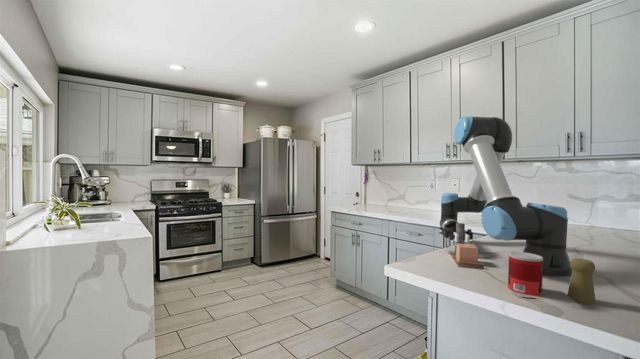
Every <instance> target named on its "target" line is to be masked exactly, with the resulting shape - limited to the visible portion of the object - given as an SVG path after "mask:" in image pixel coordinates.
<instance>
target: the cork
mask: <svg viewBox="0 0 640 359" xmlns="http://www.w3.org/2000/svg"><path fill="white" fill-rule="evenodd" d="M570 267H571V269H572V274H571V275H570V281H569V283H568V284H569V285H568V290H567V294H566V296H567V297H569V298H570V299H571V300H573V301H574V302H576V303H578V304H582V305H588V306H589V305H591V306H593V305H596V304H597V301H596V294H595V285H594V277H593V274H594V273H595V271H596V265H595V263H594V262H593V261H591V260H589V259H586V258H585V259H584V258H573V259H570Z"/></svg>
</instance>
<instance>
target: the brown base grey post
mask: <svg viewBox="0 0 640 359" xmlns="http://www.w3.org/2000/svg"><path fill="white" fill-rule="evenodd" d="M465 228H466V226H465V223H463V222H462V223H461V222H458V223H456V233H457V234H458V235H459V239H458V242H456V241H455V249H454V250H455V251H454V250H448V251H447V255H450V256H451V257H452V259H453V262H454V263H455V264H456V265H457V267H459V268H465V269H466V268H467V269H477V270H478V269H479V270H480V269H481V270H484V269H485V265H484V263H479V262H478V263H468V262H458V261H457V260H456V244H457V243H459V244H465V240H464V233H465V231H466V229H465Z"/></svg>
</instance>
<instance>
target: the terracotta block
mask: <svg viewBox="0 0 640 359" xmlns="http://www.w3.org/2000/svg"><path fill="white" fill-rule="evenodd" d="M455 245H456V260H457V261H458V262H468V263H479V262H478V259H479V258H478V256H479V248H478V247H477V246H476V245H475V244H473V243H472V244H471V243H464V244H459V243H457V244H456V243H455Z"/></svg>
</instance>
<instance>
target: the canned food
mask: <svg viewBox="0 0 640 359" xmlns="http://www.w3.org/2000/svg"><path fill="white" fill-rule="evenodd" d="M507 274H508V277H507V278H508V281H507V288H508V289H509V290H510V291H513V292H515V293H518V294H520V295H527V297H526V296H521V297H522V298H521V299H525V300H526V299H527V300H539V299H540V298H535V297H528V296H541V295H542V294H543V280H544V279H543V278H544V276H543V275H544V274H543V257H541V256H539V255H536V254H531V253H525V252H523V251H511V252H509V255H508V272H507ZM518 297H519V298H520V296H518Z"/></svg>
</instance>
